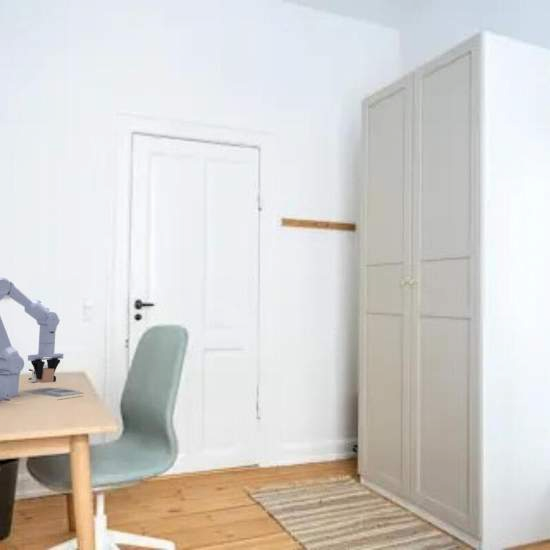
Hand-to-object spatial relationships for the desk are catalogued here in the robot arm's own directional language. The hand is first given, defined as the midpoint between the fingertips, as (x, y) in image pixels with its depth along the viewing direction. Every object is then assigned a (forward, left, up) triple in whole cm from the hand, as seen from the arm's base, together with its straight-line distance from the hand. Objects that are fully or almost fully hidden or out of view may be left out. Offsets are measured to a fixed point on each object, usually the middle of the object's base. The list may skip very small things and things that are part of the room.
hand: (44, 378), depth 217 cm
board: (-2, -5, -6) cm, 8 cm away
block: (0, 0, -1) cm, 1 cm away
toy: (+25, +17, -6) cm, 31 cm away
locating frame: (-4, -10, -5) cm, 12 cm away
